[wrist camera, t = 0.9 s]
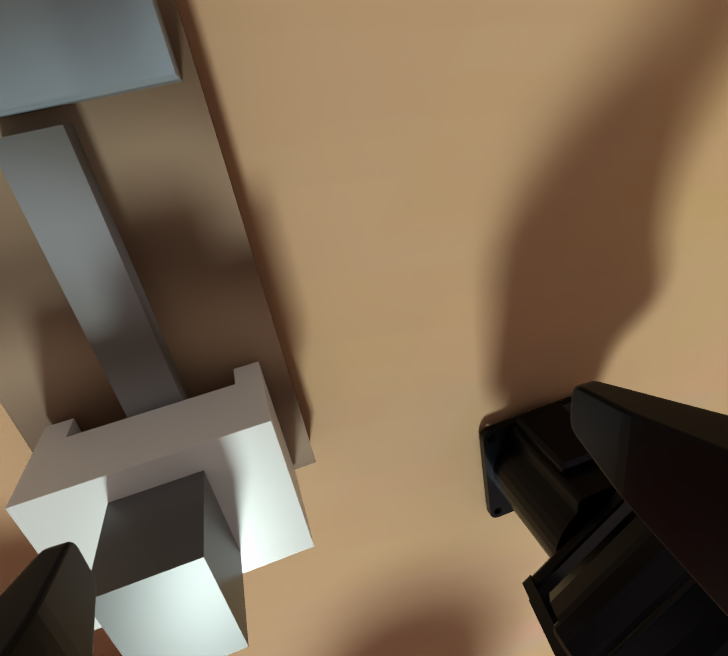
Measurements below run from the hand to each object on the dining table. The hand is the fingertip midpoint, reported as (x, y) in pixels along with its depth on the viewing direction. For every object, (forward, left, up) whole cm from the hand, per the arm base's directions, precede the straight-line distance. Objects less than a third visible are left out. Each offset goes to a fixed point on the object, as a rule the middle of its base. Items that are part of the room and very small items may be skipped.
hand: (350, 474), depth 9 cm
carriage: (-6, +5, -11) cm, 14 cm away
